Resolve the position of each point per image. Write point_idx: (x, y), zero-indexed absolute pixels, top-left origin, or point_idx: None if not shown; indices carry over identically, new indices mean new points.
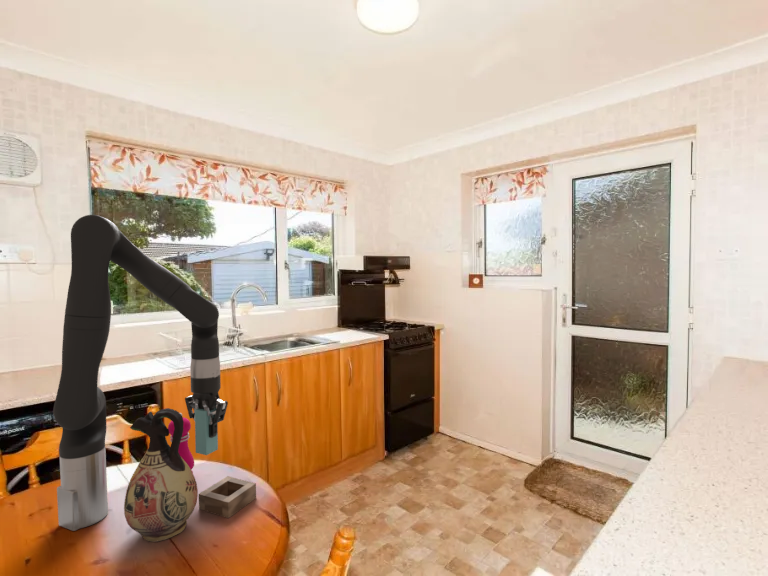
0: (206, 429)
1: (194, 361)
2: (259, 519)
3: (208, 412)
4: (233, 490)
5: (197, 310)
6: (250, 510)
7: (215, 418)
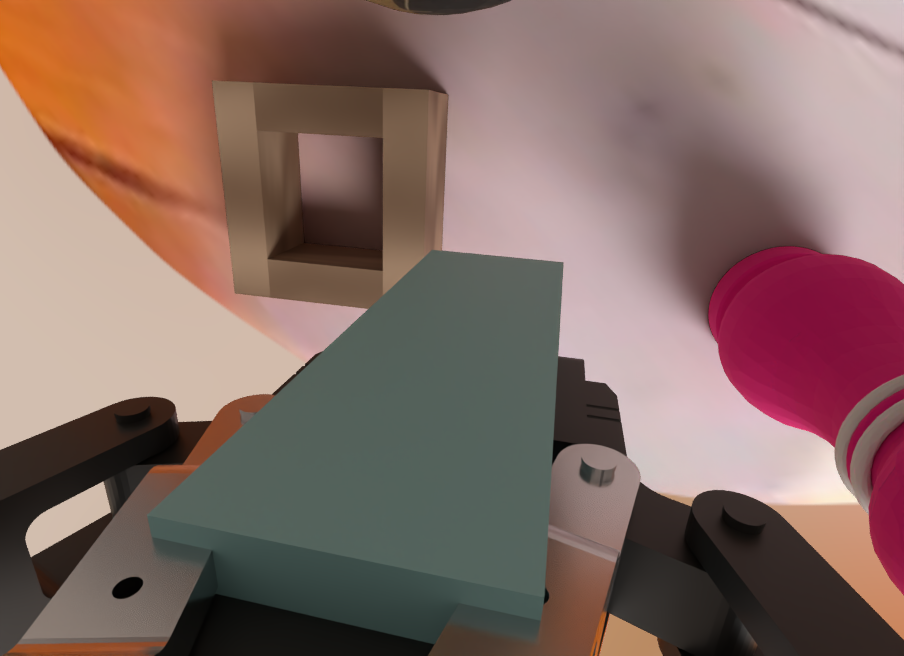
0: (342, 341)
1: None
2: (142, 133)
3: (123, 510)
4: (359, 256)
5: None
6: None
7: (91, 443)
